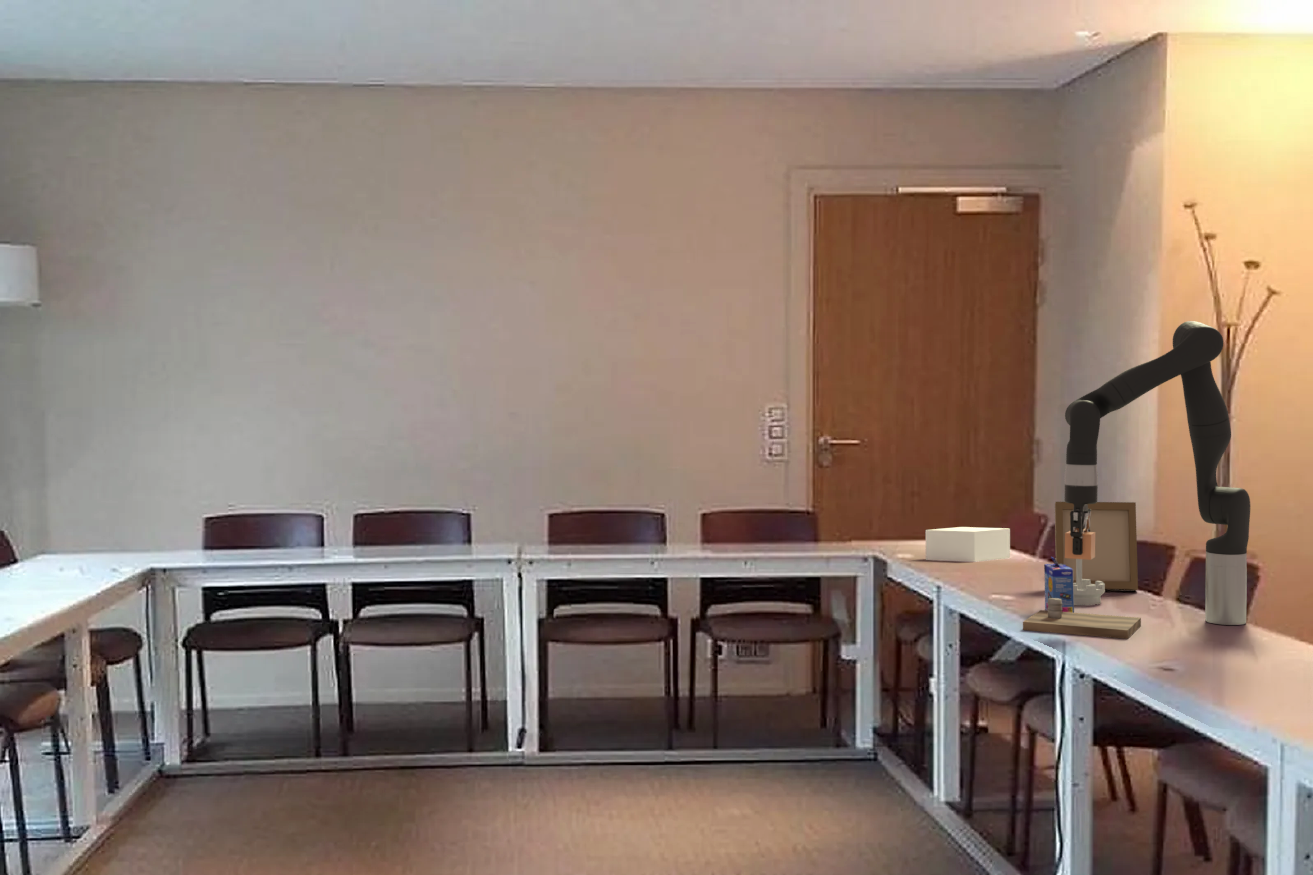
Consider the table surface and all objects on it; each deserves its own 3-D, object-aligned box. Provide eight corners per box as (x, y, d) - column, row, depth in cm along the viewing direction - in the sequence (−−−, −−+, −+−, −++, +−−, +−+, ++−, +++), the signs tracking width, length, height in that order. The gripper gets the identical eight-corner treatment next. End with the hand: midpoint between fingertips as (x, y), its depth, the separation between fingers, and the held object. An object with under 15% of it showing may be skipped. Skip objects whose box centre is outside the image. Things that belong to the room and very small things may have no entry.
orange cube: (1069, 555, 316) (1069, 531, 316) (1095, 557, 313) (1095, 532, 313) (1064, 558, 310) (1065, 533, 310) (1090, 559, 308) (1091, 534, 307)
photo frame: (1137, 592, 364) (1138, 503, 363) (1056, 590, 369) (1056, 503, 368) (1131, 585, 378) (1131, 499, 377) (1053, 583, 383) (1053, 499, 383)
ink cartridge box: (1043, 609, 339) (1043, 554, 338) (1064, 610, 338) (1064, 554, 338) (1052, 616, 329) (1052, 559, 328) (1074, 616, 328) (1075, 559, 328)
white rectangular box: (919, 557, 444) (919, 527, 443) (1002, 555, 446) (1002, 526, 445) (931, 563, 429) (931, 532, 429) (1017, 561, 431) (1017, 530, 431)
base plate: (1040, 617, 327) (1040, 592, 327) (1140, 625, 315) (1141, 599, 315) (1022, 630, 311) (1022, 603, 311) (1127, 638, 299) (1127, 610, 299)
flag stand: (1107, 606, 343) (1108, 493, 342) (1056, 605, 345) (1056, 493, 344) (1101, 598, 356) (1101, 489, 354) (1051, 597, 358) (1051, 489, 357)
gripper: (1092, 485, 303) (1091, 557, 304) (1102, 482, 316) (1101, 551, 316) (1059, 484, 307) (1058, 555, 307) (1070, 481, 319) (1069, 549, 320)
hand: (1079, 552), depth 312 cm, fingers closed on orange cube, 6 cm apart
